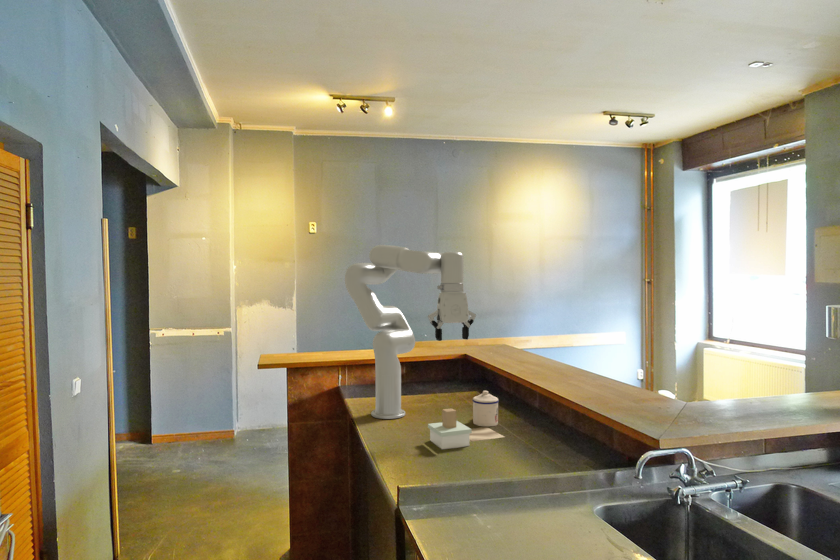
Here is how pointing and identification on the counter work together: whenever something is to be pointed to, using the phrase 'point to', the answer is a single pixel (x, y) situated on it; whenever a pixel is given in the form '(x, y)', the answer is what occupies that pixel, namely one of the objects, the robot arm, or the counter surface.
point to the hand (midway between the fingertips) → (452, 339)
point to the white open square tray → (449, 440)
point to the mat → (483, 434)
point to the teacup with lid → (485, 410)
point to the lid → (449, 425)
